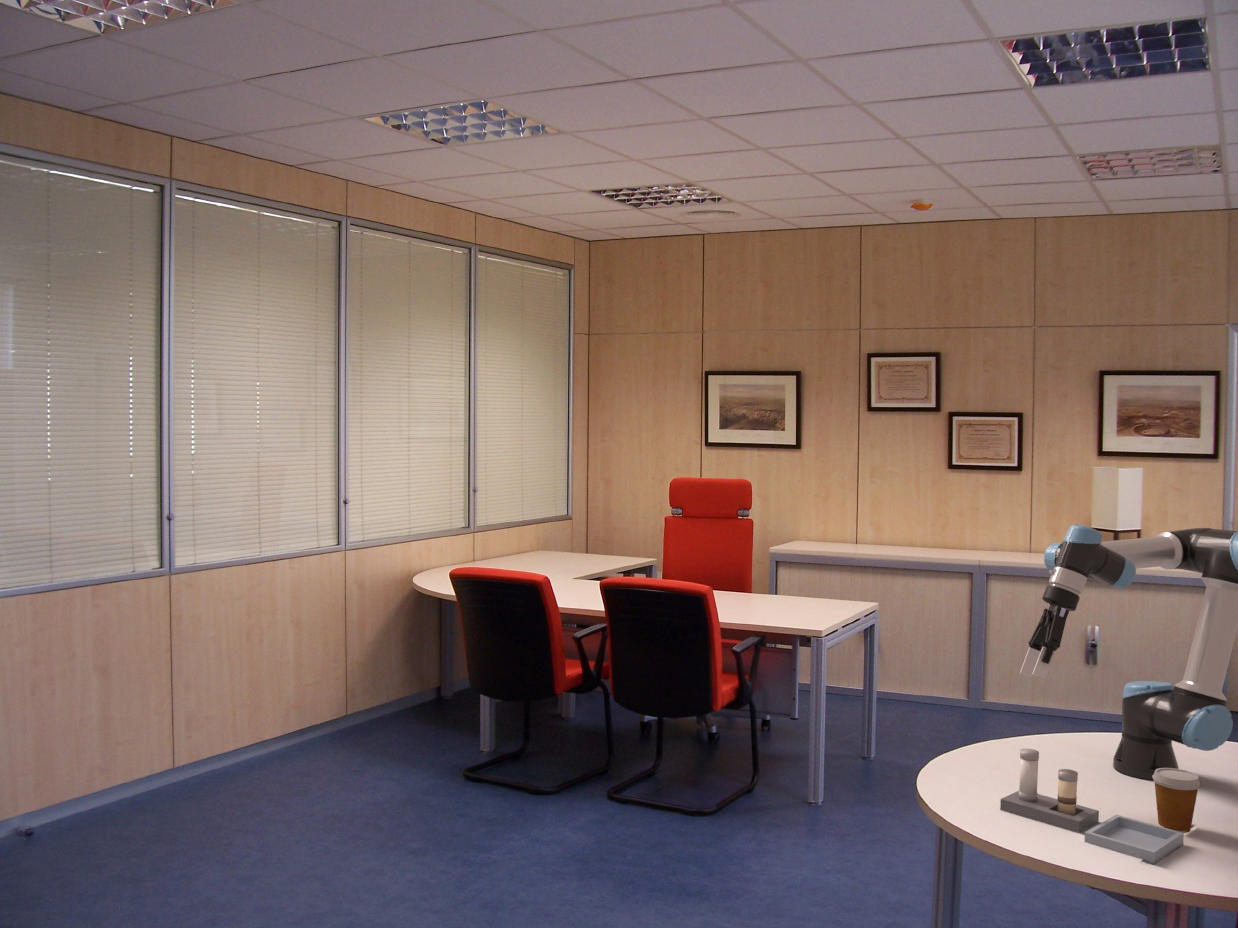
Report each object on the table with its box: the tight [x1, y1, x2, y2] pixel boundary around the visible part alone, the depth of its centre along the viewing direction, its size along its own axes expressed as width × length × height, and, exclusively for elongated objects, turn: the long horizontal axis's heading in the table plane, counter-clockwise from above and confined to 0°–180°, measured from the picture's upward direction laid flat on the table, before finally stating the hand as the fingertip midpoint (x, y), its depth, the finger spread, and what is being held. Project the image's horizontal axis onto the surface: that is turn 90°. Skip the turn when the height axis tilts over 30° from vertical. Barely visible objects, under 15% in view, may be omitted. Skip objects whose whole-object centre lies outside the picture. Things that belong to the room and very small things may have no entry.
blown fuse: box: [1057, 768, 1079, 816], centre depth 240 cm, size 4×4×11 cm
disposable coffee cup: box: [1152, 768, 1201, 833], centre depth 238 cm, size 10×10×12 cm
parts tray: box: [1084, 814, 1184, 866], centre depth 228 cm, size 16×14×2 cm
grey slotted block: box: [999, 748, 1100, 834], centre depth 243 cm, size 10×18×14 cm, turn 43°
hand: (1031, 676), depth 247 cm, fingers open, 13 cm apart
